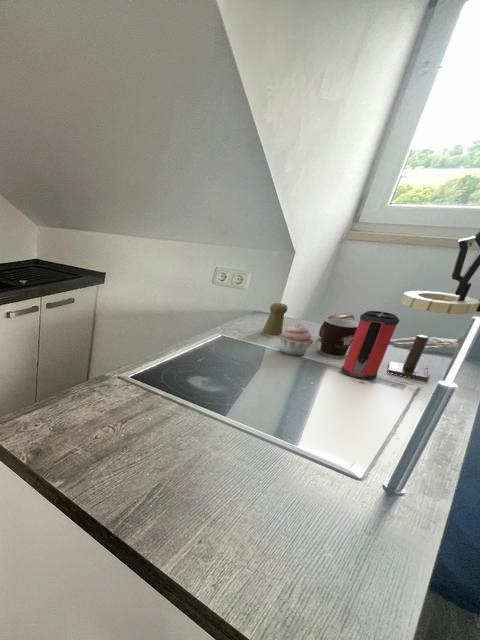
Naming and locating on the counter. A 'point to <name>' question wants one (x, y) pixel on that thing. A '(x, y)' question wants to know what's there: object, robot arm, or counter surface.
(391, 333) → the speaker
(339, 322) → the coffee mug
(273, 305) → the cork
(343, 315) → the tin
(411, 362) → the peg stand
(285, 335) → the cupcake
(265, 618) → the counter surface
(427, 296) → the tape
